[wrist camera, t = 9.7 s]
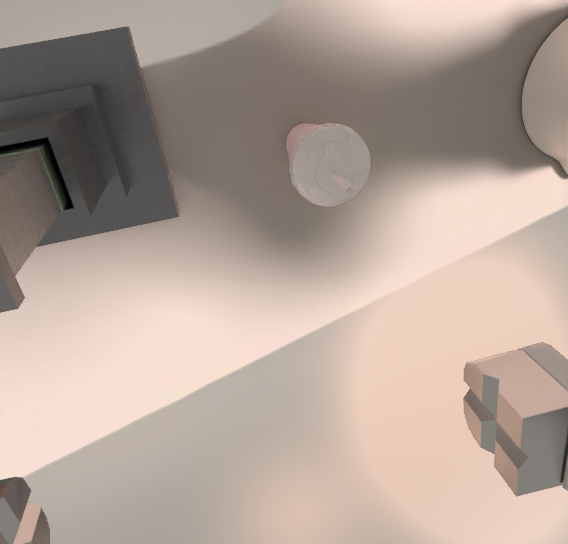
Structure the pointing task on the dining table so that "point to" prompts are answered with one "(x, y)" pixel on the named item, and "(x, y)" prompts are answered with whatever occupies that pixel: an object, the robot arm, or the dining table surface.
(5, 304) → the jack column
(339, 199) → the smoothie
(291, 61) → the dining table surface
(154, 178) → the base
